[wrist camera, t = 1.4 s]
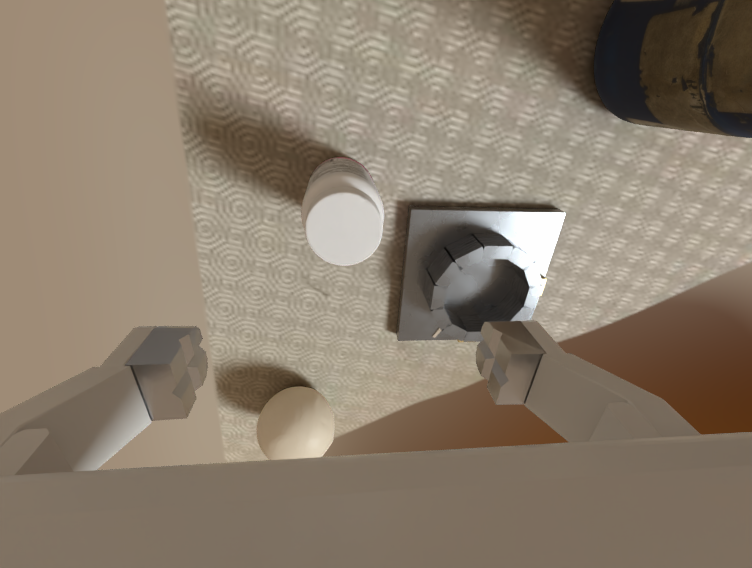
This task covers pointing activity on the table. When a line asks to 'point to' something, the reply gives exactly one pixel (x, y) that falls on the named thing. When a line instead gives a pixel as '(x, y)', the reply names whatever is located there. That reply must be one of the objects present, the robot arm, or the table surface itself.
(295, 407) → the beige sphere
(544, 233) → the lock socket
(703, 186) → the table surface
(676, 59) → the canister
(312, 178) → the pill bottle
